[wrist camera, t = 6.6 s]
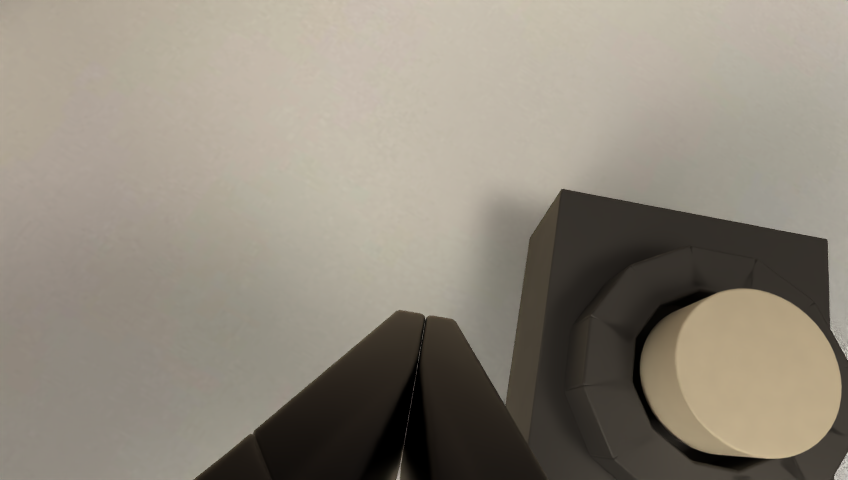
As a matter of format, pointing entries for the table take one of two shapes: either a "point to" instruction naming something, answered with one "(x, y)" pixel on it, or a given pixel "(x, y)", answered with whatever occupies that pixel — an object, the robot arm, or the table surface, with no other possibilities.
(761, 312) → the stop button
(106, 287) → the table surface
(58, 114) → the table surface
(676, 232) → the block
